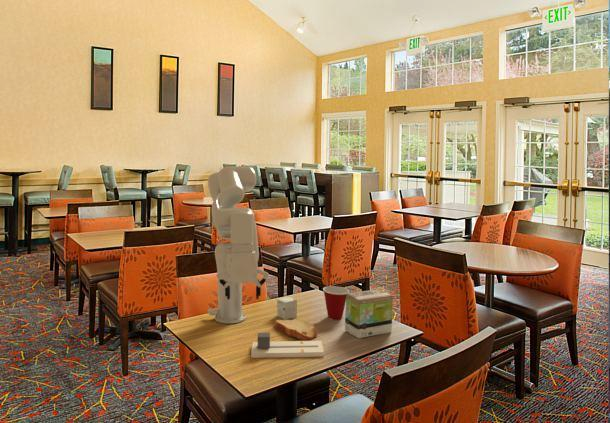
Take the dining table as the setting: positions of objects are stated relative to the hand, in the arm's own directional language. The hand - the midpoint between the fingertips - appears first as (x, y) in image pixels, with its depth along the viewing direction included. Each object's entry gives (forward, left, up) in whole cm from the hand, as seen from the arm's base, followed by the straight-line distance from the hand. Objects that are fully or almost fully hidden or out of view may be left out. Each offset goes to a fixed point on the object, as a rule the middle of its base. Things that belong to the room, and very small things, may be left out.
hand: (243, 298), depth 168 cm
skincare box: (+15, +36, -19) cm, 43 cm away
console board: (+15, 0, -19) cm, 24 cm away
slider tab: (+7, 0, -17) cm, 18 cm away
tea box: (+45, +17, -19) cm, 52 cm away
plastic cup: (+35, +34, -19) cm, 52 cm away
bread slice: (+17, +19, -19) cm, 32 cm away
